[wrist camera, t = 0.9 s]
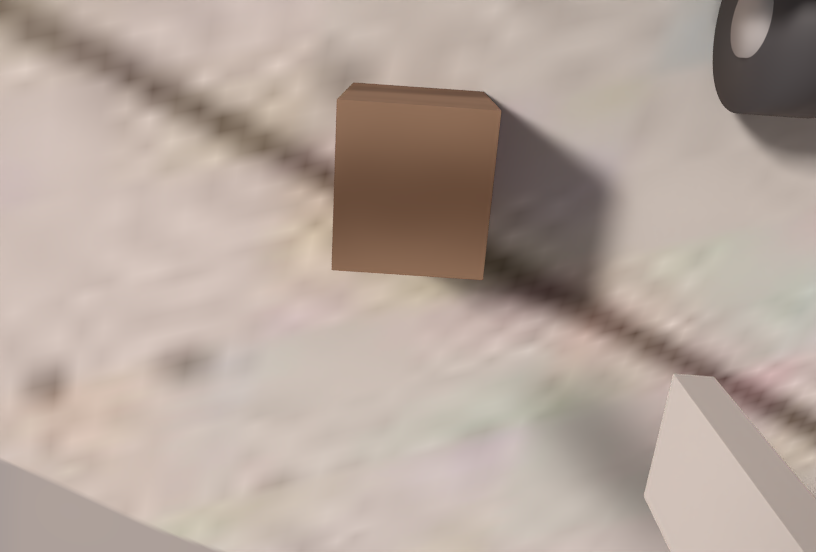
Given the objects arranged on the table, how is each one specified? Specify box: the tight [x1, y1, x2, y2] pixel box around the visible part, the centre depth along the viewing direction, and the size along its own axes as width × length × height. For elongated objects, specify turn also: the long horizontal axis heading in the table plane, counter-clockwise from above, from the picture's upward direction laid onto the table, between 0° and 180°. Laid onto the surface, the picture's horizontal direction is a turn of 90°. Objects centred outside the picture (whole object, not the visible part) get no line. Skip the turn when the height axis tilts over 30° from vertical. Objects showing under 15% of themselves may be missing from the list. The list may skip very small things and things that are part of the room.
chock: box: [332, 83, 501, 280], centre depth 25 cm, size 6×5×6 cm
